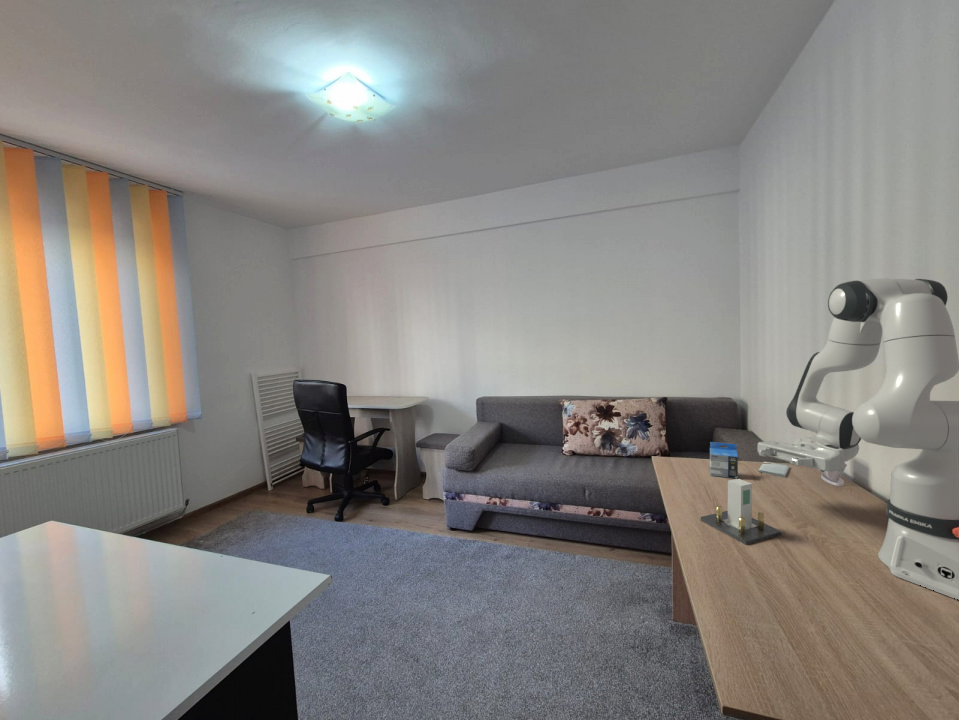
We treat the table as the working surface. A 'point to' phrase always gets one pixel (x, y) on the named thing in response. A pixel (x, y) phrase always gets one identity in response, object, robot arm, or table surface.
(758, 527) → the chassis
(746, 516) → the block
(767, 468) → the hard drive
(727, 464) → the label tape box
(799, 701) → the table surface
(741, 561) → the table surface
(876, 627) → the table surface
